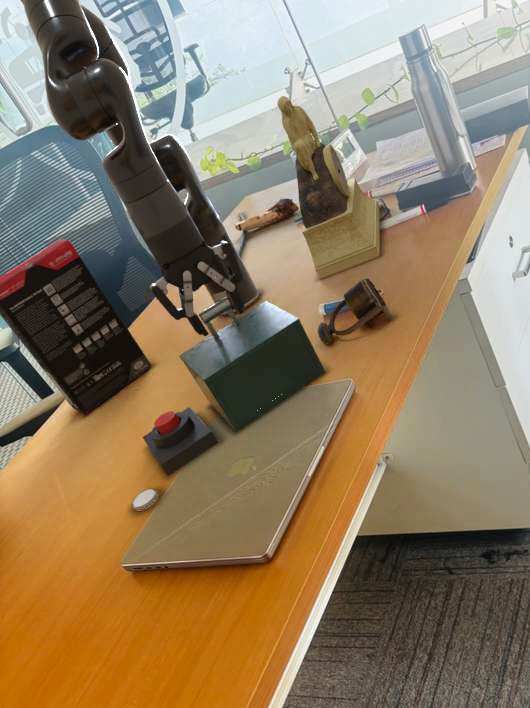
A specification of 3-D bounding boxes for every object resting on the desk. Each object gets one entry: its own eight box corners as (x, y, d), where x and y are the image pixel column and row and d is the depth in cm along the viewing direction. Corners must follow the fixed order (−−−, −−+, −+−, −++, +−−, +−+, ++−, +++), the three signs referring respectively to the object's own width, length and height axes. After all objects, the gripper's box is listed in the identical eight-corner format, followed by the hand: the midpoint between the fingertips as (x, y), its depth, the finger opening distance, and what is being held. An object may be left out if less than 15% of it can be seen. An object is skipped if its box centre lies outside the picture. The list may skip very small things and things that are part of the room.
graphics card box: (141, 360, 142) (56, 237, 126) (156, 365, 137) (69, 237, 121) (74, 411, 136) (-25, 288, 119) (87, 417, 131) (-15, 291, 114)
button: (157, 429, 107) (151, 421, 106) (177, 417, 108) (171, 408, 107) (163, 437, 104) (157, 429, 103) (183, 424, 105) (177, 415, 104)
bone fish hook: (304, 204, 182) (245, 226, 187) (297, 187, 179) (237, 209, 184) (298, 217, 175) (236, 238, 180) (290, 198, 172) (228, 221, 177)
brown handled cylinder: (377, 305, 105) (384, 262, 111) (301, 318, 109) (311, 277, 115) (391, 339, 111) (397, 297, 116) (318, 350, 115) (327, 309, 120)
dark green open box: (211, 405, 114) (183, 361, 109) (294, 351, 118) (270, 306, 112) (236, 431, 105) (206, 384, 99) (325, 372, 108) (301, 323, 102)
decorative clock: (379, 256, 134) (315, 93, 116) (319, 279, 138) (248, 124, 119) (379, 207, 156) (325, 63, 137) (327, 228, 159) (267, 90, 140)
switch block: (150, 447, 112) (135, 428, 110) (196, 416, 114) (183, 397, 111) (168, 476, 103) (153, 456, 100) (218, 442, 104) (205, 422, 102)
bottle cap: (146, 490, 102) (144, 487, 101) (163, 492, 99) (161, 489, 99) (129, 509, 100) (126, 506, 99) (146, 512, 97) (143, 509, 97)
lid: (181, 359, 110) (162, 331, 106) (268, 304, 113) (252, 275, 109) (206, 384, 99) (186, 353, 96) (301, 323, 102) (285, 290, 99)
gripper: (199, 195, 102) (252, 295, 112) (115, 244, 99) (178, 342, 110) (214, 199, 96) (269, 304, 107) (125, 251, 94) (190, 354, 104)
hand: (222, 323), depth 108 cm, fingers open, 6 cm apart
